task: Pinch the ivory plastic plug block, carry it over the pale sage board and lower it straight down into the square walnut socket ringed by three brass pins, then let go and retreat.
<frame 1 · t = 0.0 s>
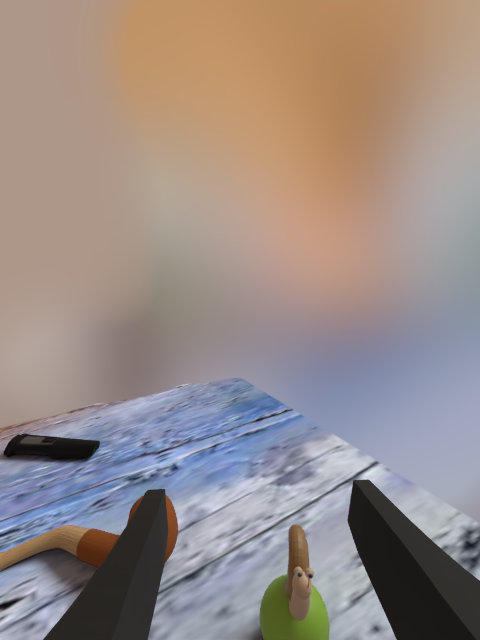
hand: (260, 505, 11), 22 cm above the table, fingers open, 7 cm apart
electric trimmer: (54, 454, 48), on the table
smoking pipe: (91, 569, 30), on the table
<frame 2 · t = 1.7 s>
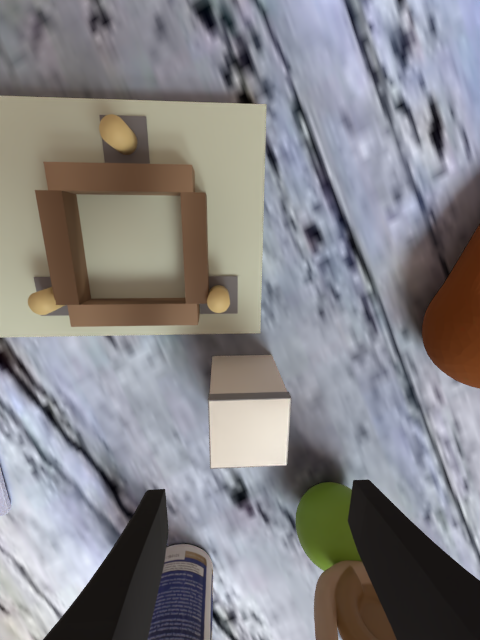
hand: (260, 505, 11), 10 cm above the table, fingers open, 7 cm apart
socket collar: (141, 247, 17), resting on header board
pill bottle: (181, 562, 25), on the table
snail figurine: (315, 490, 24), on the table
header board: (104, 229, 17), on the table
plug block: (242, 382, 20), on the table
smoking pipe: (461, 236, 19), on the table
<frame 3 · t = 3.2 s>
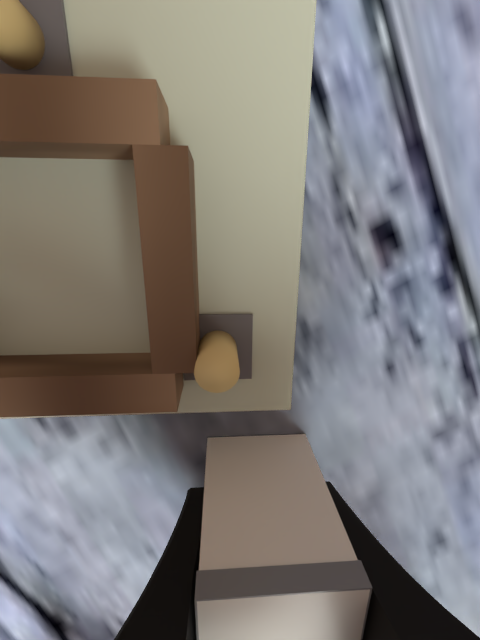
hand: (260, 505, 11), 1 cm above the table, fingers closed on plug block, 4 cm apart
socket collar: (78, 261, 10), resting on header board
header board: (6, 228, 9), on the table
plug block: (255, 475, 13), on the table, touching gripper
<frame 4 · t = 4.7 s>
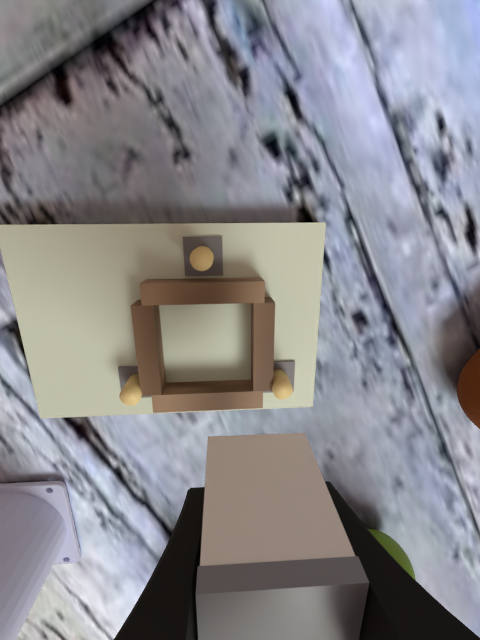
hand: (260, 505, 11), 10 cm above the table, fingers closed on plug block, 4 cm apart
socket collar: (207, 335, 20), resting on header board
snail figurine: (353, 534, 26), on the table
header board: (176, 321, 19), on the table
plug block: (255, 473, 13), point 8 cm above the table, touching gripper
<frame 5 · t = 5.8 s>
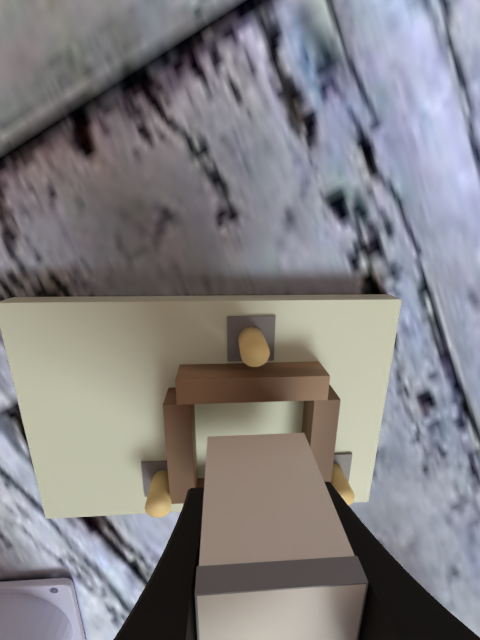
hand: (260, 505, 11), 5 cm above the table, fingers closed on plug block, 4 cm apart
socket collar: (247, 418, 16), resting on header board
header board: (210, 404, 16), on the table
plug block: (255, 473, 13), point 4 cm above the table, touching gripper
when the fingers open (4 cm above the table, at t = 6.6 s): plug block stays where it is, resting on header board.
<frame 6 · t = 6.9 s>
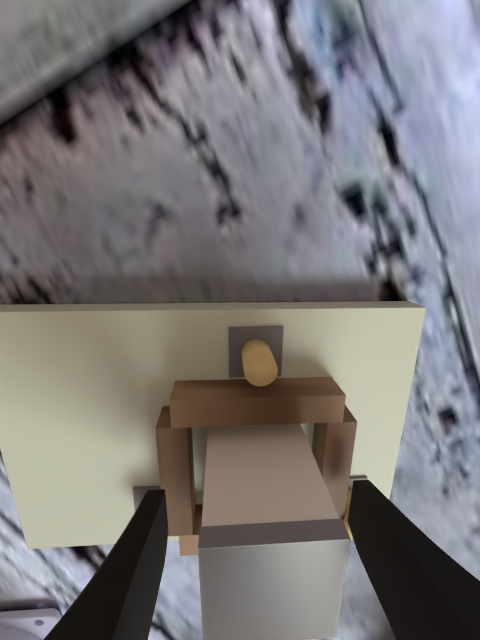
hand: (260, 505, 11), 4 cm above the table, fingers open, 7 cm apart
socket collar: (250, 438, 15), resting on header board
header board: (210, 422, 14), on the table
plug block: (253, 456, 14), point 1 cm above the table, touching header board
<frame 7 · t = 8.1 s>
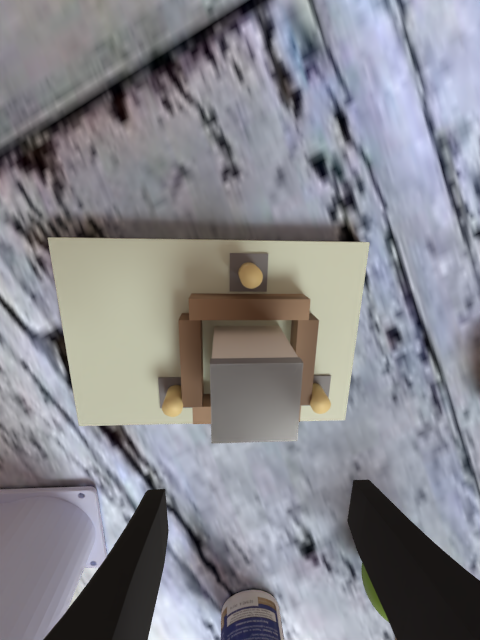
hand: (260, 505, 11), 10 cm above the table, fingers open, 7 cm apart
socket collar: (245, 347, 20), resting on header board
pill bottle: (249, 604, 28), on the table
snail figurine: (374, 543, 26), on the table
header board: (215, 333, 19), on the table
plug block: (246, 355, 19), point 1 cm above the table, touching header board
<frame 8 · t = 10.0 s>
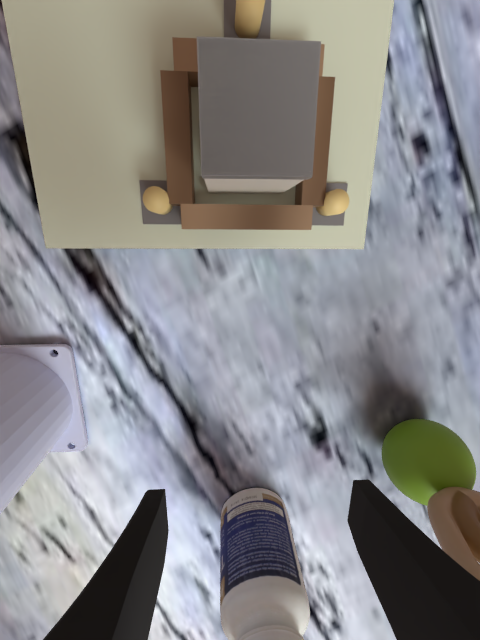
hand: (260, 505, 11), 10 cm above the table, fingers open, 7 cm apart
socket collar: (244, 156, 17), resting on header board
pill bottle: (253, 508, 24), on the table
snail figurine: (394, 432, 23), on the table
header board: (208, 135, 16), on the table
plug block: (245, 152, 16), point 1 cm above the table, touching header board
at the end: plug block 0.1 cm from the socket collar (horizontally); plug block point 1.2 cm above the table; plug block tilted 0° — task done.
